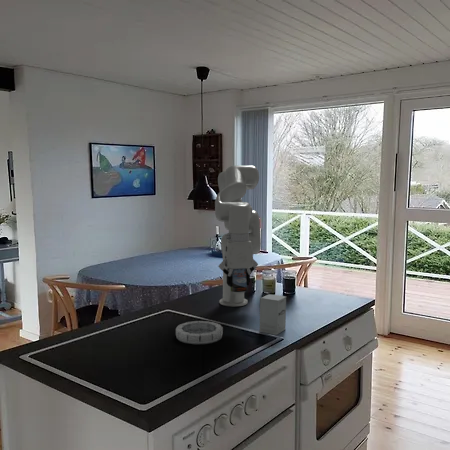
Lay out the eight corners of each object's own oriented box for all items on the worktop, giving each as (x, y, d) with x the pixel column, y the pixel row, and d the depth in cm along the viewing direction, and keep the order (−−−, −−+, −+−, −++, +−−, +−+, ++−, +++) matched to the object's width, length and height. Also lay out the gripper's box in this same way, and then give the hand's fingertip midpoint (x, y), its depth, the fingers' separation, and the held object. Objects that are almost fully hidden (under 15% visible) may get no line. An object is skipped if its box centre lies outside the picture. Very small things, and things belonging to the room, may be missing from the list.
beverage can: (235, 296, 167) (235, 264, 165) (226, 291, 173) (226, 260, 172) (250, 294, 170) (250, 262, 168) (240, 289, 176) (240, 259, 175)
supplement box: (277, 335, 162) (278, 300, 161) (258, 331, 166) (259, 297, 164) (286, 329, 168) (286, 296, 167) (268, 326, 172) (268, 293, 171)
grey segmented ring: (171, 331, 165) (171, 323, 165) (213, 327, 171) (213, 319, 170) (182, 346, 150) (182, 337, 150) (228, 341, 156) (228, 332, 155)
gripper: (220, 240, 162) (219, 289, 165) (264, 238, 168) (263, 285, 170) (213, 237, 169) (213, 284, 172) (256, 235, 175) (255, 281, 177)
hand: (238, 284), depth 171 cm, fingers closed on beverage can, 6 cm apart
